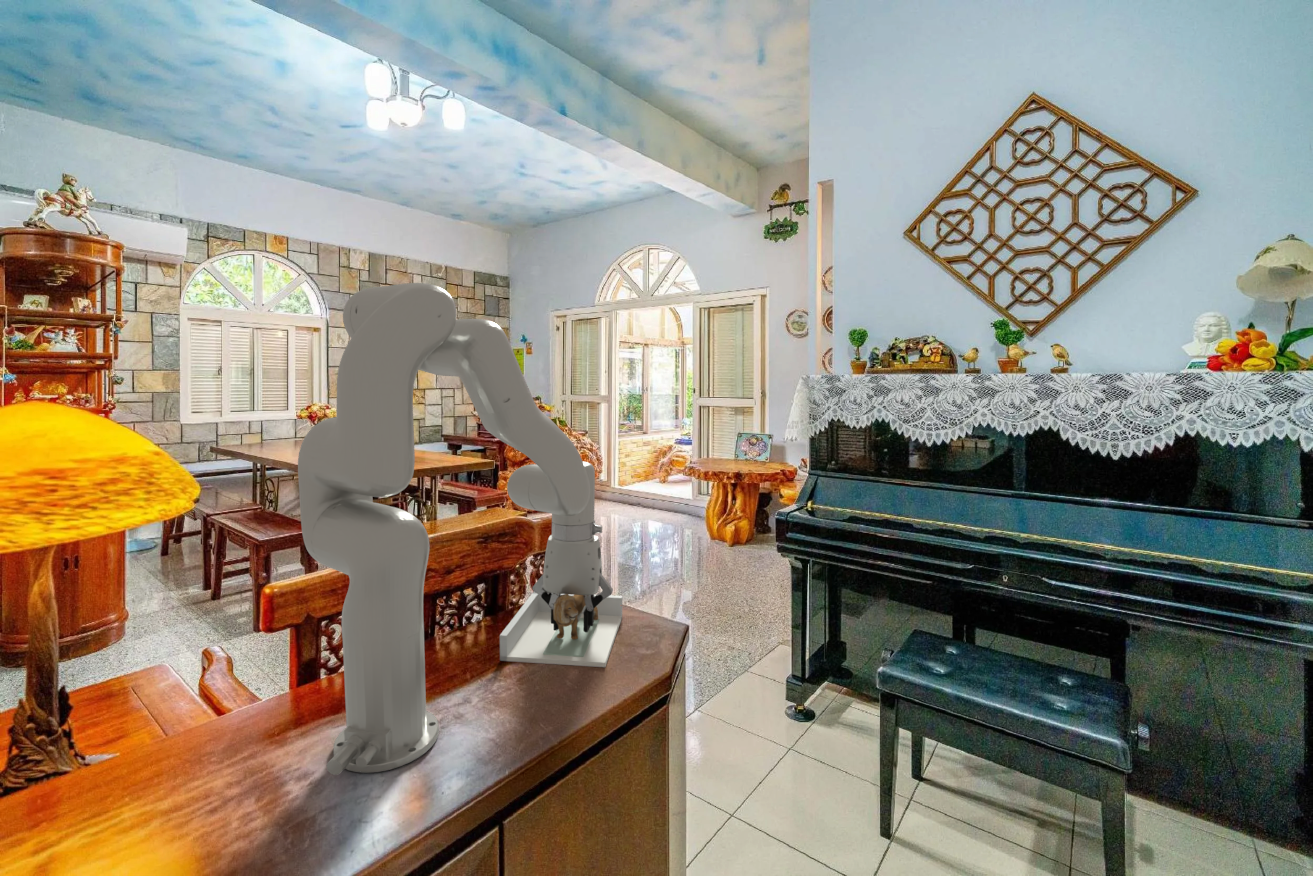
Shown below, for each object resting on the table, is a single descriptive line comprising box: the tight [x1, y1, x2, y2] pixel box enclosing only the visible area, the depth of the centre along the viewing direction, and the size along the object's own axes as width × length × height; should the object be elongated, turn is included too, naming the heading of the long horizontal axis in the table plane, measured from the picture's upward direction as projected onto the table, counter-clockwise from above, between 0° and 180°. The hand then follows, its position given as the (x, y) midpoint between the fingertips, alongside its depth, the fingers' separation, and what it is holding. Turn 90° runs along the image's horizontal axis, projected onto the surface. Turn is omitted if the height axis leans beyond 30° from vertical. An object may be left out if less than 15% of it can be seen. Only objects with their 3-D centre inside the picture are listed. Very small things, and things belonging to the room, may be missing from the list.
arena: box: [499, 591, 623, 668], centre depth 109 cm, size 20×18×4 cm
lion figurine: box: [553, 594, 598, 640], centre depth 109 cm, size 15×5×9 cm, turn 167°
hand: (572, 627), depth 108 cm, fingers closed on lion figurine, 4 cm apart
